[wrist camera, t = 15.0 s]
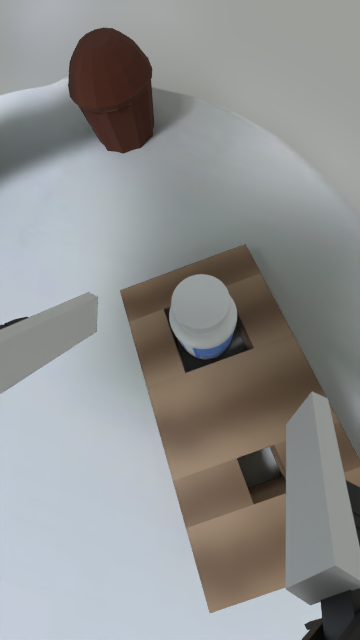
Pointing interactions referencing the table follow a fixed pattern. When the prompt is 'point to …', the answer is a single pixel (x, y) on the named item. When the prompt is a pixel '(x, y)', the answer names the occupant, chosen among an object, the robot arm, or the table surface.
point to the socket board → (228, 425)
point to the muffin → (113, 88)
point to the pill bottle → (203, 316)
